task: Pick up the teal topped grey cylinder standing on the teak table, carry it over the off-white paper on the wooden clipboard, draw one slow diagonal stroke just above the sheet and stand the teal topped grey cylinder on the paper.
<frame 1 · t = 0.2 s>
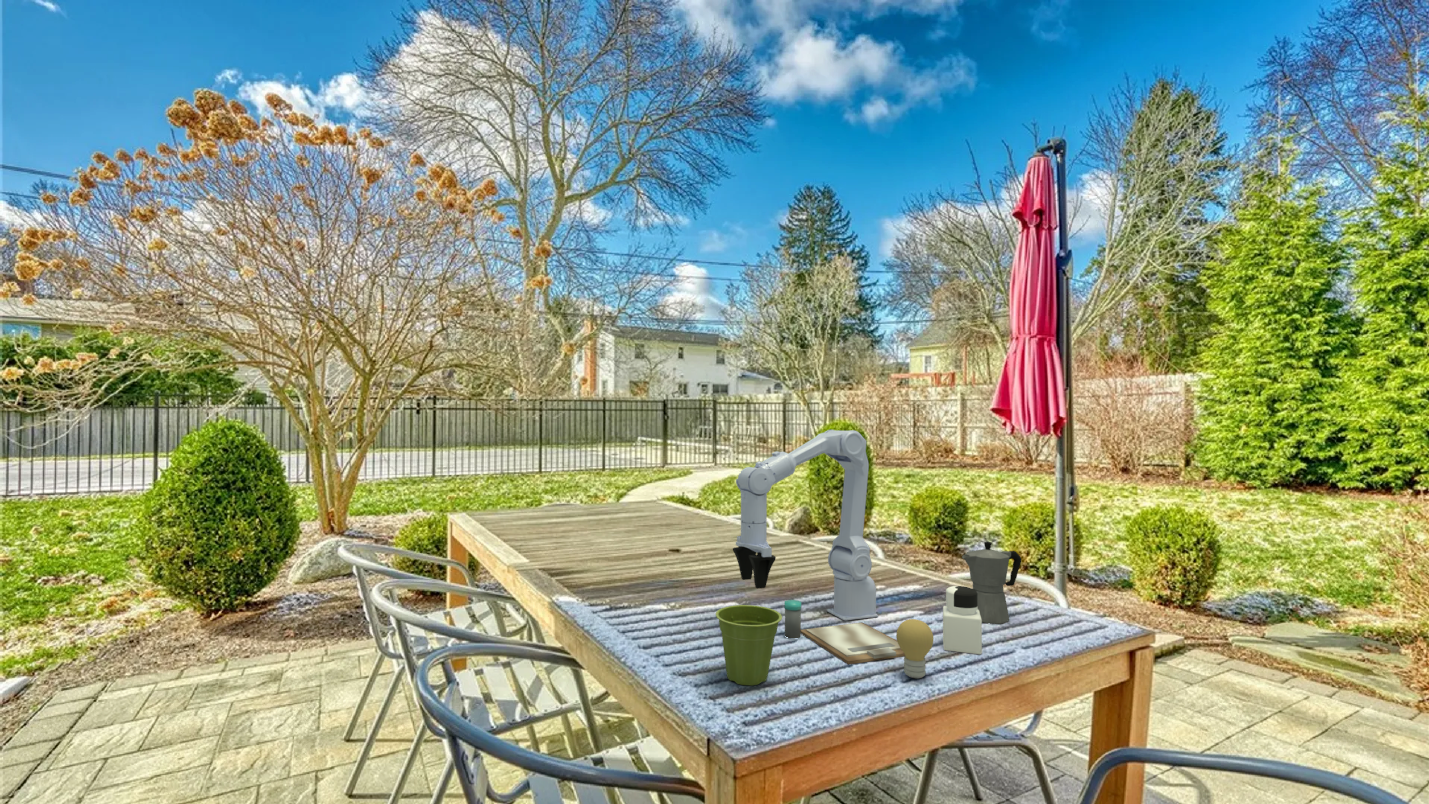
hand: (753, 583, 138), 10 cm above the table, tool pointing down, fingers open, 7 cm apart
light bulb: (914, 677, 113), on the table
plant pot: (747, 679, 111), on the table
medicine bottle: (961, 648, 128), on the table
coffeepot: (992, 618, 148), on the table
clipboard: (855, 643, 130), on the table
teal topped grey cylinder: (792, 636, 133), on the table
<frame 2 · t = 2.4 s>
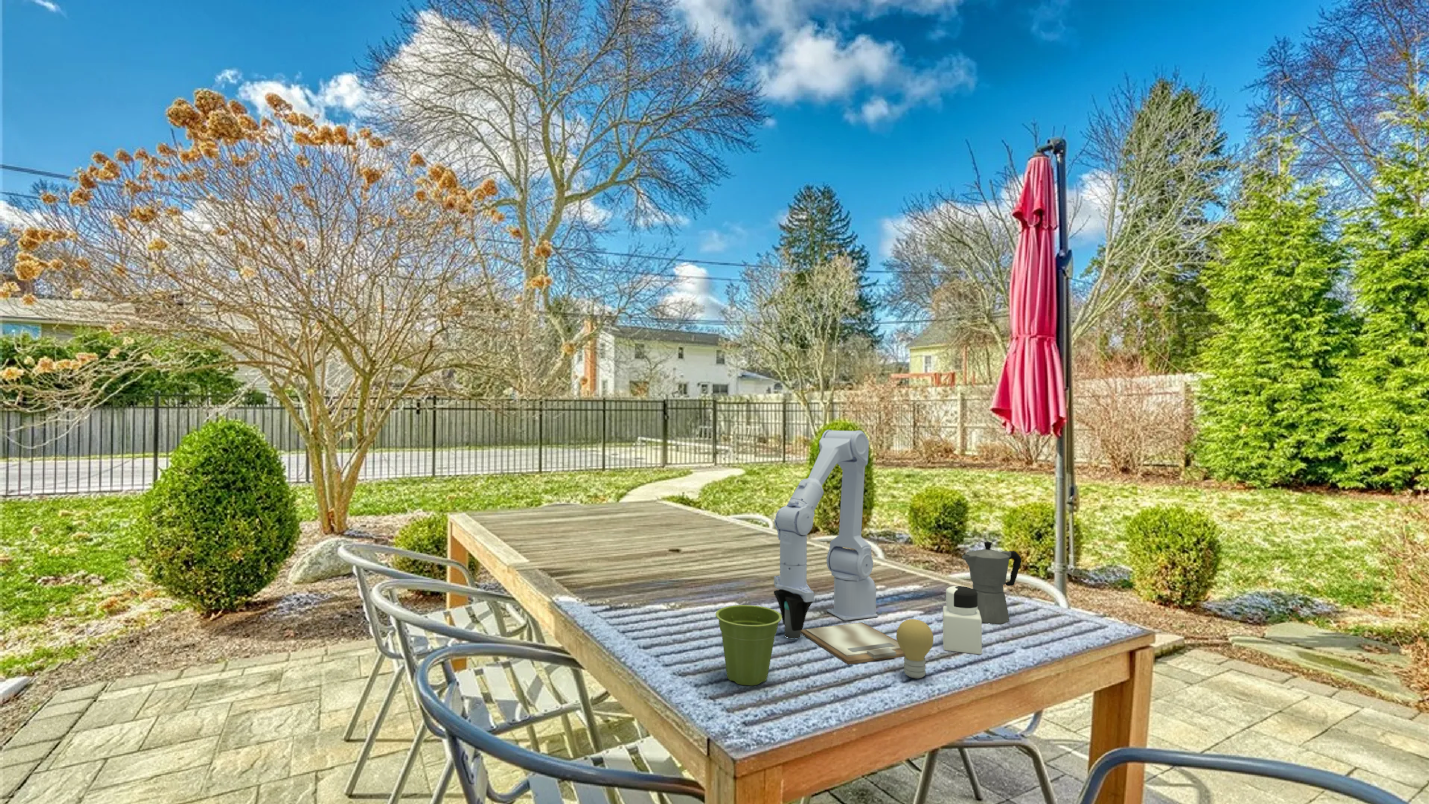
hand: (792, 627, 133), 2 cm above the table, tool pointing down, fingers closed on teal topped grey cylinder, 3 cm apart
teal topped grey cylinder: (792, 636, 133), on the table, touching gripper
everything else where it was.
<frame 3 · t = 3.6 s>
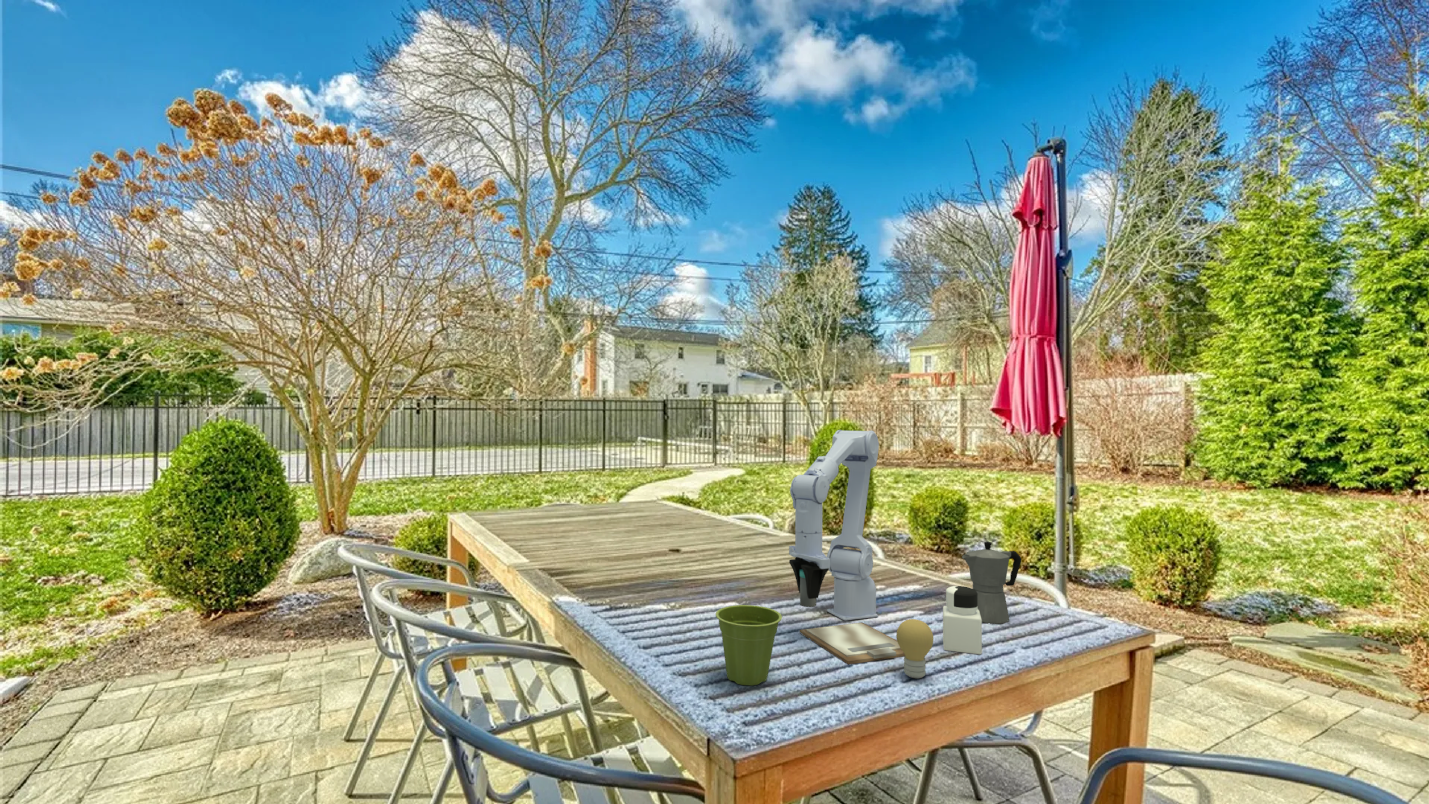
hand: (808, 595, 133), 9 cm above the table, tool pointing down, fingers closed on teal topped grey cylinder, 3 cm apart
teal topped grey cylinder: (808, 604, 133), point 7 cm above the table, touching gripper
everything else where it was.
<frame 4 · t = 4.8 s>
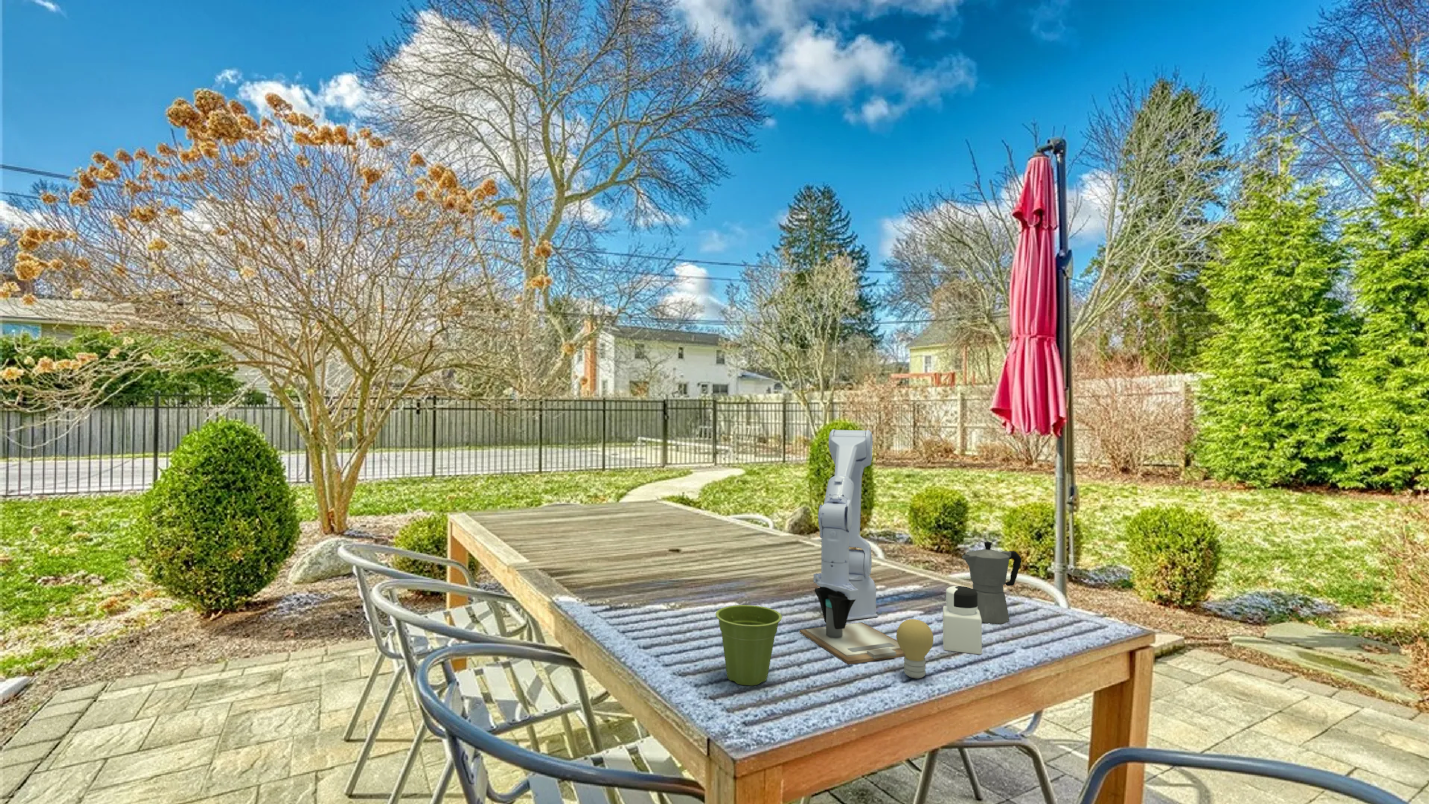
hand: (834, 625, 131), 3 cm above the table, tool pointing down, fingers closed on teal topped grey cylinder, 3 cm apart
teal topped grey cylinder: (834, 634, 131), point 1 cm above the table, touching gripper
everything else where it was.
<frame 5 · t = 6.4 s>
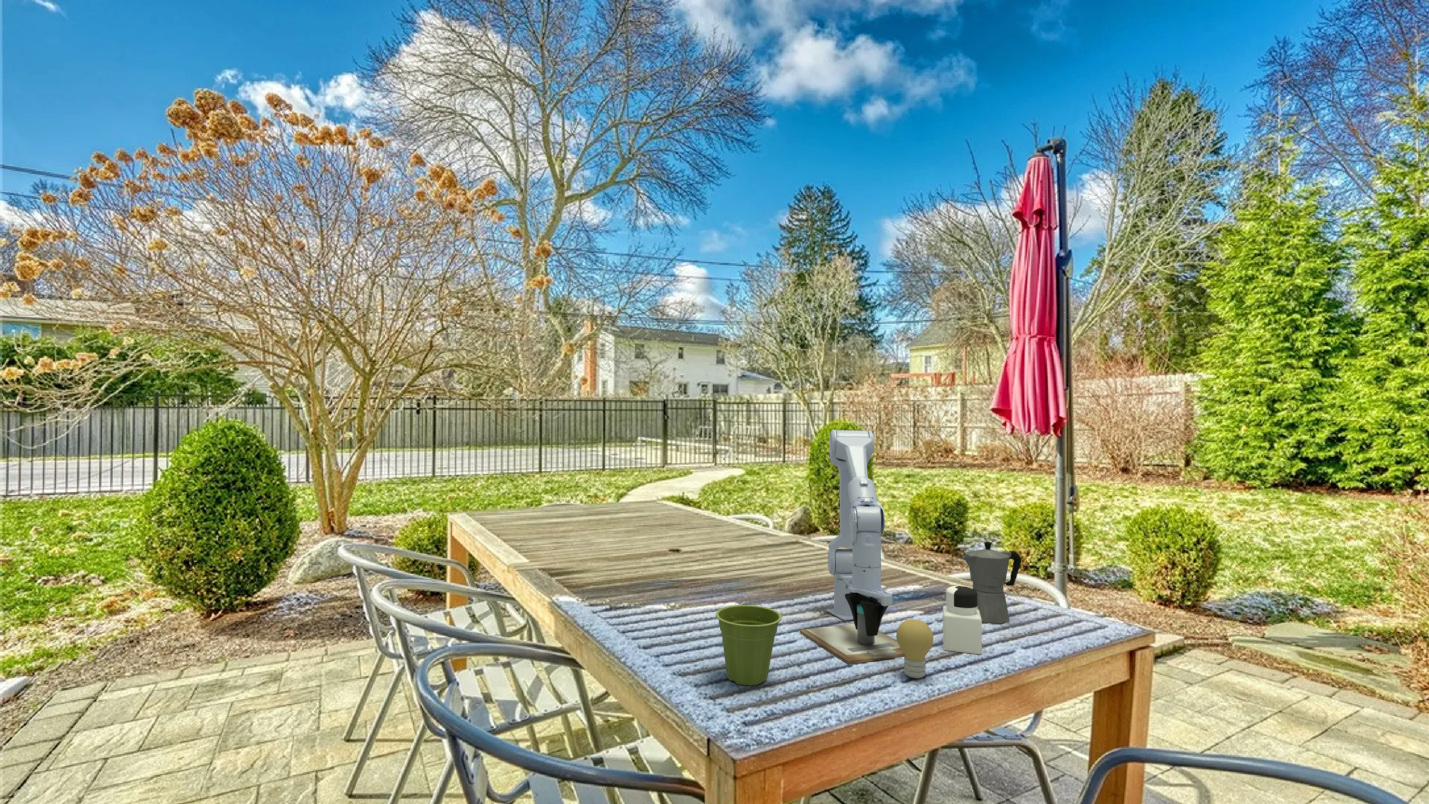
hand: (866, 632, 127), 3 cm above the table, tool pointing down, fingers closed on teal topped grey cylinder, 3 cm apart
teal topped grey cylinder: (865, 641, 127), point 1 cm above the table, touching gripper
everything else where it was.
when the fingers open (3 cm above the table, at t = 7.4 s): teal topped grey cylinder stays where it is, resting on clipboard.
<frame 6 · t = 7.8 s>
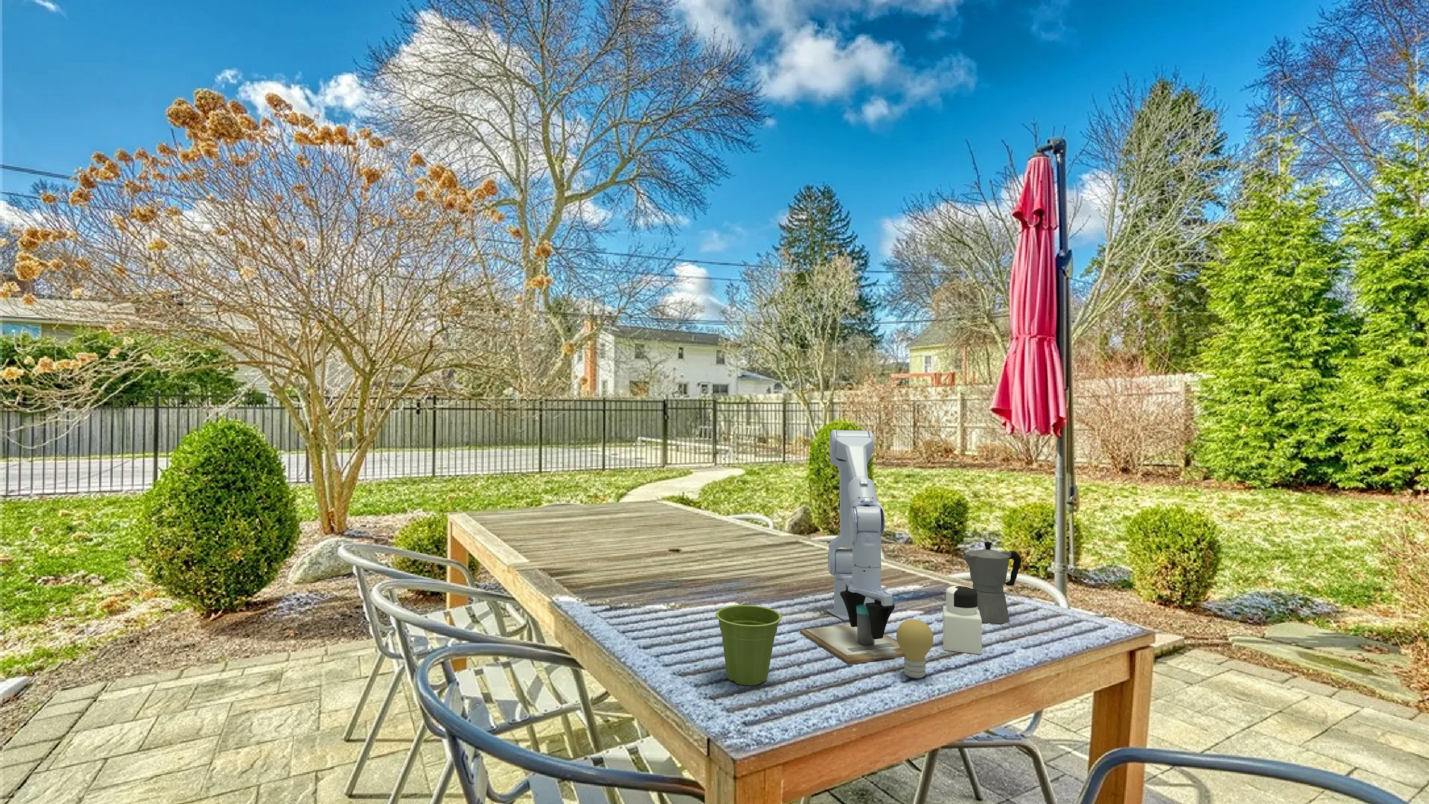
hand: (866, 632, 127), 3 cm above the table, tool pointing down, fingers open, 7 cm apart
teal topped grey cylinder: (865, 642, 127), point 1 cm above the table, touching clipboard
everything else where it was.
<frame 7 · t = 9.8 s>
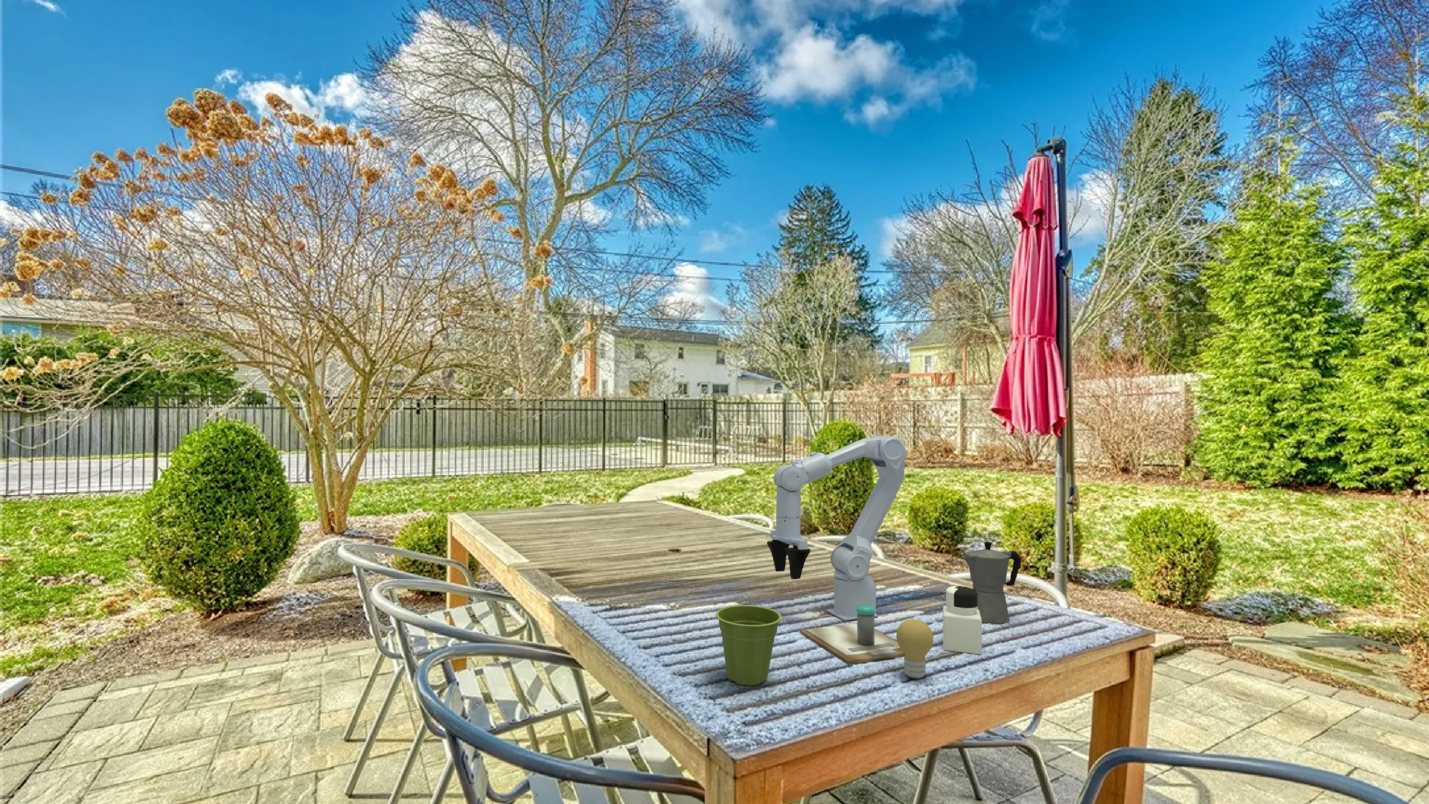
hand: (787, 574, 146), 10 cm above the table, tool pointing down, fingers open, 7 cm apart
nothing on the table moved.
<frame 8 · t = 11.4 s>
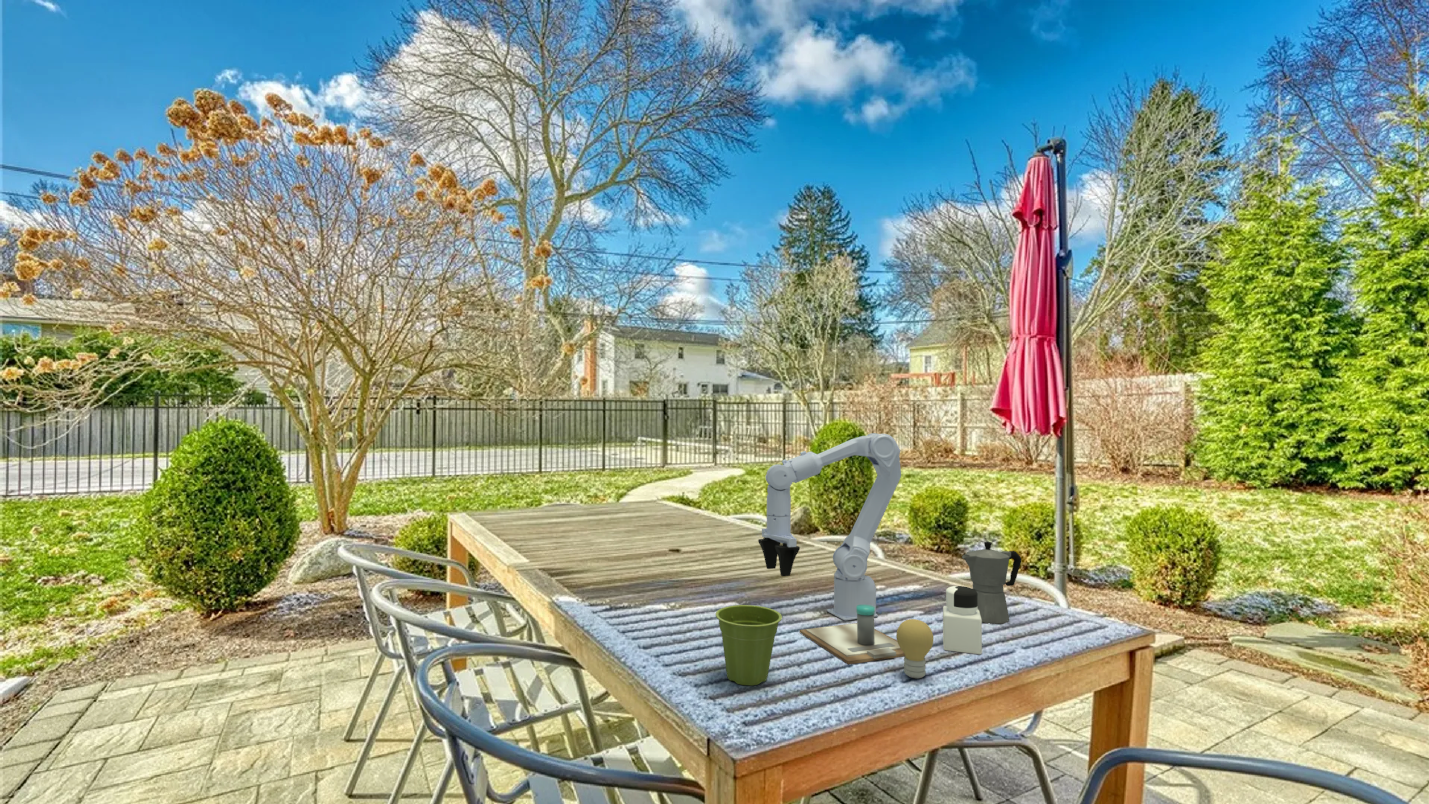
hand: (778, 572, 149), 10 cm above the table, tool pointing down, fingers open, 7 cm apart
nothing on the table moved.
at the end: teal topped grey cylinder inside the target area on the clipboard (3.3 cm from its centre), point 1.0 cm above the clipboard's base; teal topped grey cylinder tilted 2°; the gripper is holding nothing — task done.
